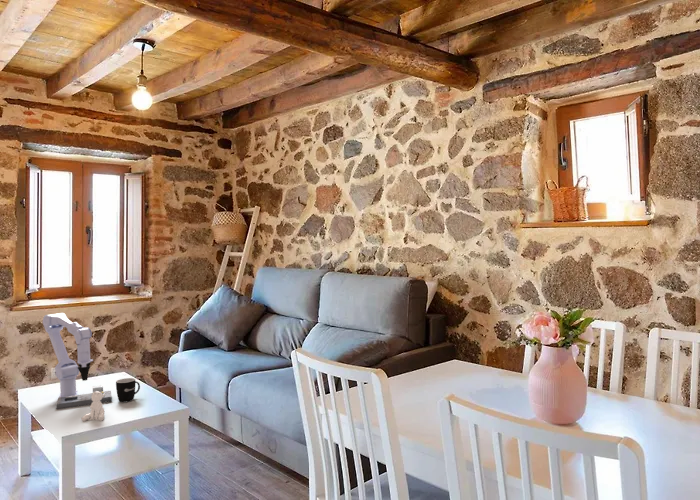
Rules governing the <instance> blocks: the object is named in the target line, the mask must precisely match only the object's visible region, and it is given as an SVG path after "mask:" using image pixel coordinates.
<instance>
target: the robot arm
mask: <svg viewBox="0 0 700 500" xmlns="http://www.w3.org/2000/svg"><path fill="white" fill-rule="evenodd" d="M42 325H43V328H44V330H45V332H46V333H47V334H48V337H49V341H50V342H51V346H52V349H53V350H54V353H55V356H56V359H57V362H58V363H57V364H55V367H54V370H55V376H56V378H57V379H58V380H59V386H60V392H59V397H58V398H60V397H66V396H73V395H78V390H77V381H76V380H77V378H78V376H79V373H80V376H81V380H82V382H85V381H88V379H89V378H88V377H89V371H90V369H91V363H92V362H94V359H91V345H90V343H91V342H90V339H91V338H92V335H93V332H92V330H91V328H90V327H89V326H88V327H84V326H83V325H80V324H79V323H78V321H73V322H72V321H71V320H70V319H69V318H68V316H67V314H65V313H64V312H59V313H51V314H45V315H44V316H43V319H42ZM64 328H66V330H67V332H68V333H69V334H72V336H73V337H74V340H75V344H76V346H77V348H76V349H77V362H76V360H75V359H71V358H70V356H69V353H68V352H67V349H66V346H65V343H64V340H63V338H62V335H61V331H62V330H63V329H64Z"/></svg>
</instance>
